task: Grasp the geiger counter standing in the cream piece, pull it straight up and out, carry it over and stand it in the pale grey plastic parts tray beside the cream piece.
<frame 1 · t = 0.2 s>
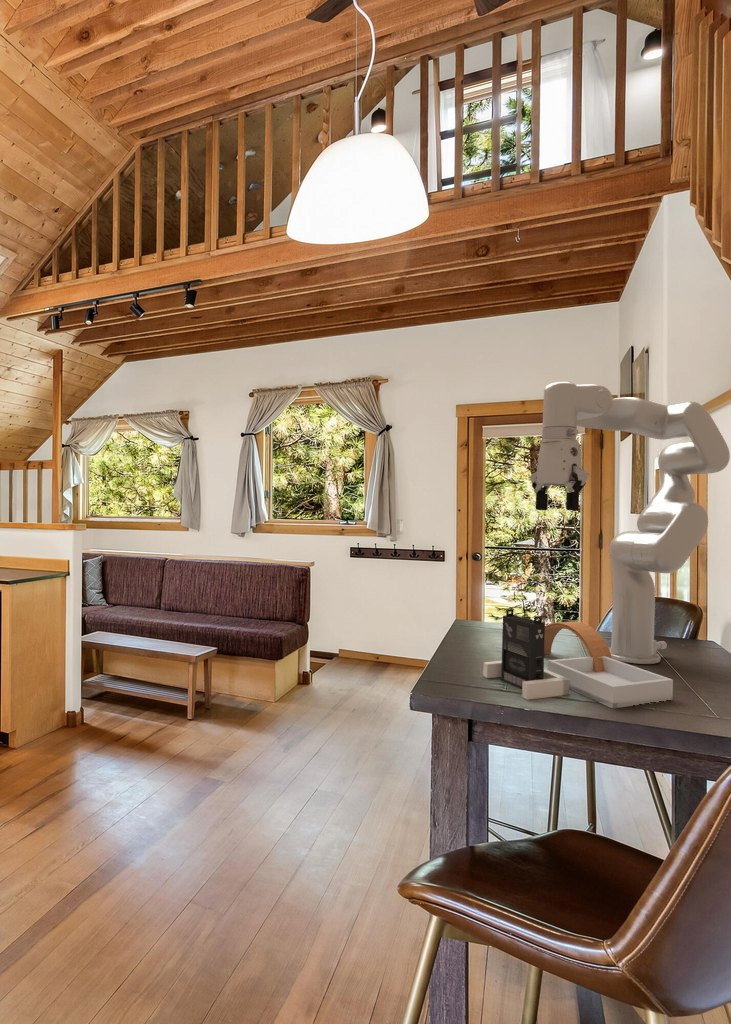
hand: (556, 510, 125), 36 cm above the table, tool pointing down, fingers open, 9 cm apart
cream piece: (524, 684, 111), on the table
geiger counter: (524, 686, 111), on the table
parts tray: (606, 688, 110), on the table
arch: (570, 665, 128), on the table, touching parts tray
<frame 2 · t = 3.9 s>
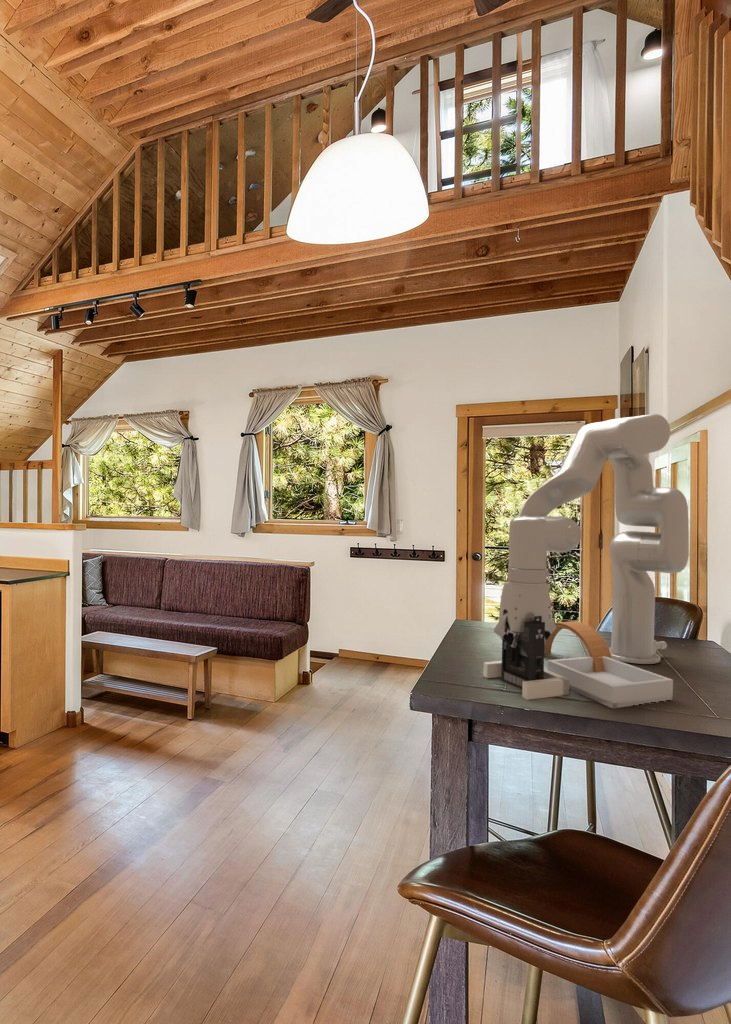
hand: (524, 663, 111), 4 cm above the table, tool pointing down, fingers closed on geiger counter, 5 cm apart
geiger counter: (524, 686, 111), on the table, touching gripper
everything else where it was.
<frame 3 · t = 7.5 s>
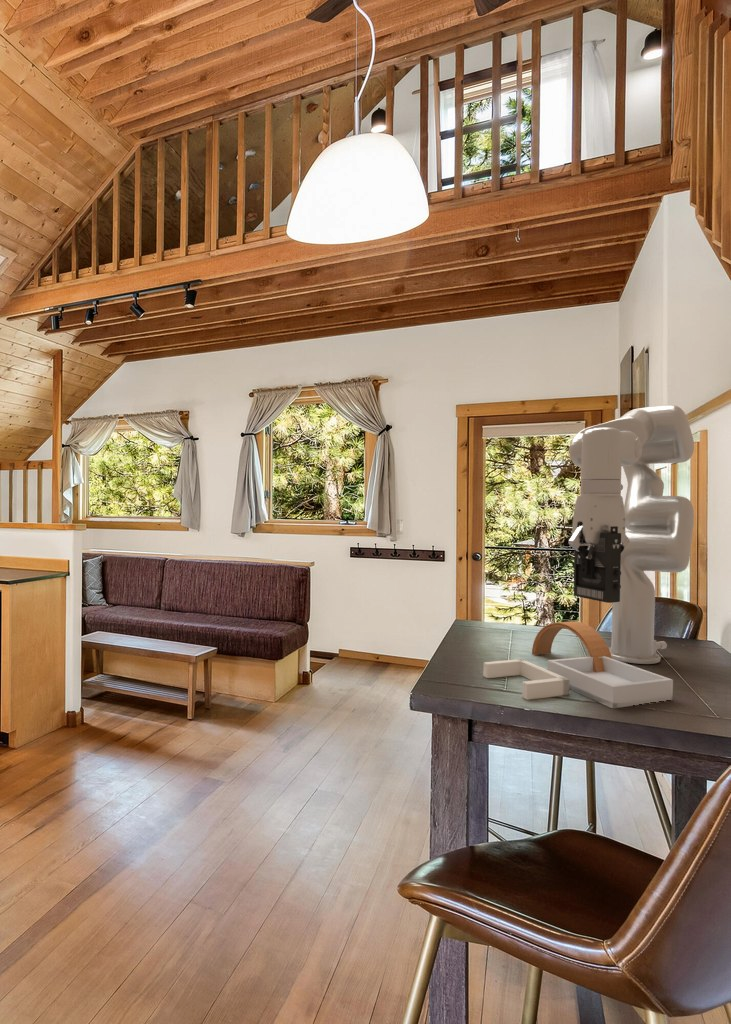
hand: (598, 576, 110), 23 cm above the table, tool pointing down, fingers closed on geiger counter, 5 cm apart
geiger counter: (598, 599, 110), point 18 cm above the table, touching gripper
everything else where it was.
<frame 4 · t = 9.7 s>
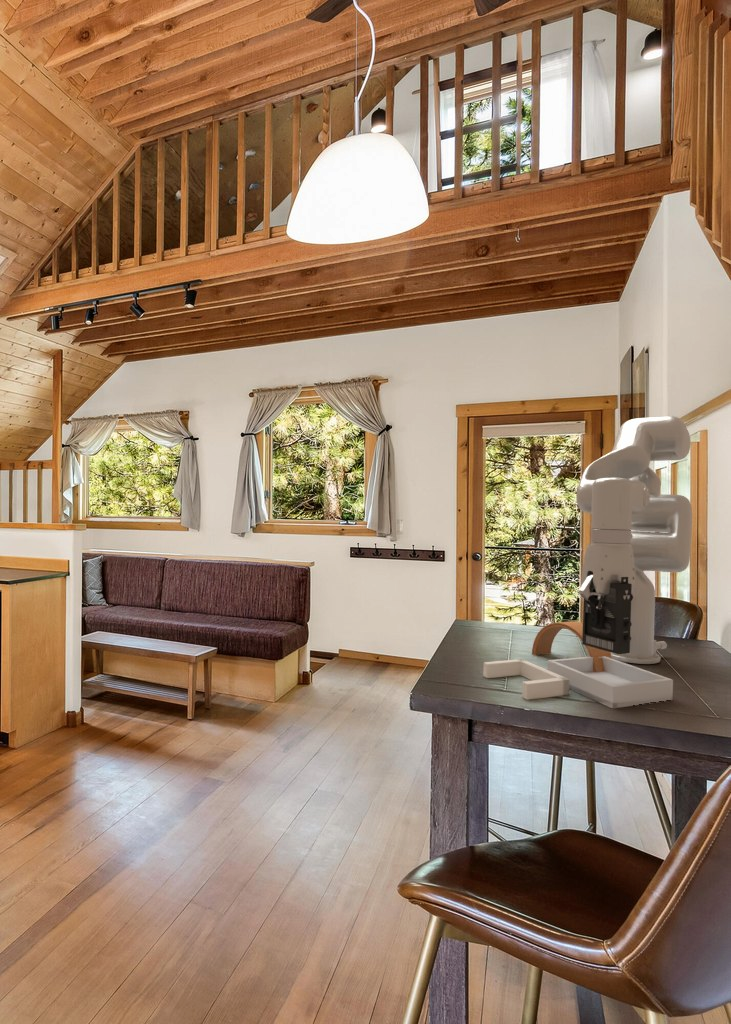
hand: (608, 626, 110), 13 cm above the table, tool pointing down, fingers closed on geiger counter, 5 cm apart
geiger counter: (607, 649, 109), point 8 cm above the table, touching gripper
everything else where it was.
when the fingers open (7 cm above the table, at t = 11.3 s): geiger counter drops 1 cm, resting on parts tray.
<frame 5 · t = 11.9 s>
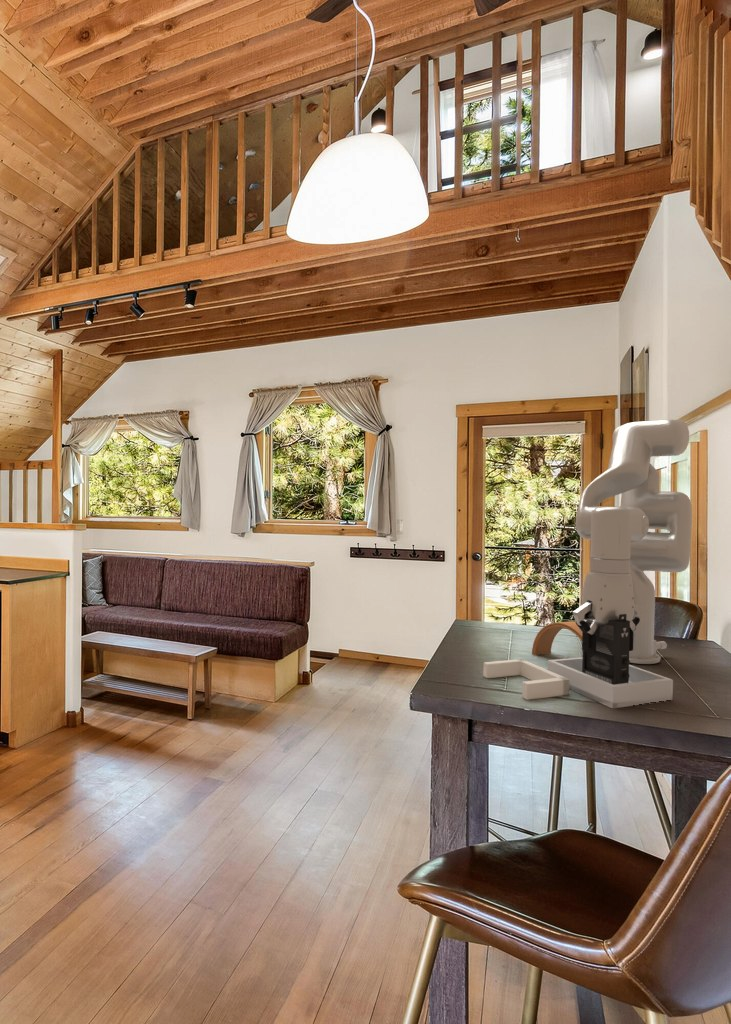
hand: (607, 650, 110), 8 cm above the table, tool pointing down, fingers open, 9 cm apart
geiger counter: (606, 684, 110), point 1 cm above the table, touching parts tray
everything else where it was.
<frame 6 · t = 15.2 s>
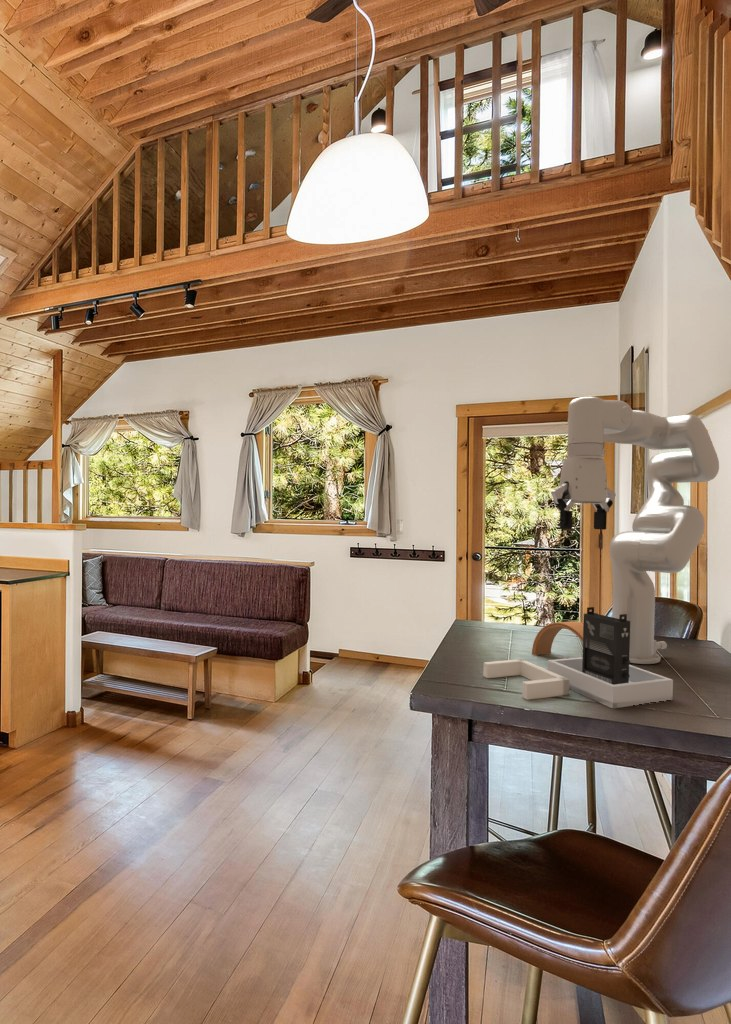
hand: (583, 529, 121), 32 cm above the table, tool pointing down, fingers open, 9 cm apart
nothing on the table moved.
at the end: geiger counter inside the target area on the parts tray (0.1 cm from its centre), point 0.8 cm above the parts tray's base; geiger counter tilted 0°; the gripper is holding nothing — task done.
